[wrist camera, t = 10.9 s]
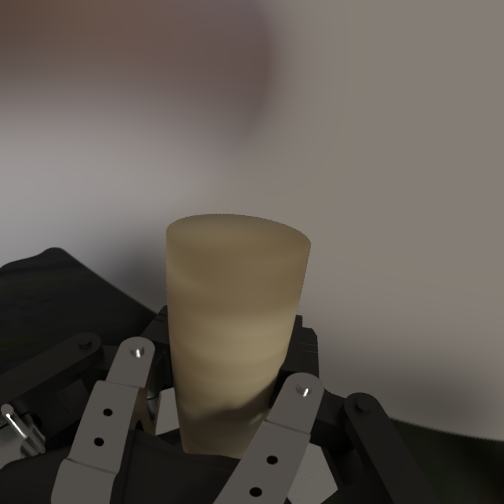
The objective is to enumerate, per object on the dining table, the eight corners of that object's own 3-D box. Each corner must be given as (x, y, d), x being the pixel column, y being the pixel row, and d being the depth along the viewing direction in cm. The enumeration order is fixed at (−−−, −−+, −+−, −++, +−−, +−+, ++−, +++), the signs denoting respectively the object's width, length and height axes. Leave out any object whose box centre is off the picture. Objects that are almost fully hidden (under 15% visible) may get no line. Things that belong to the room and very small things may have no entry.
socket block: (111, 443, 15) (92, 408, 13) (239, 399, 22) (245, 361, 20) (188, 574, 6) (179, 576, 5) (333, 492, 13) (361, 467, 12)
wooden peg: (170, 434, 12) (148, 219, 8) (230, 411, 15) (254, 211, 10) (207, 489, 9) (208, 275, 5) (271, 457, 12) (339, 249, 7)
